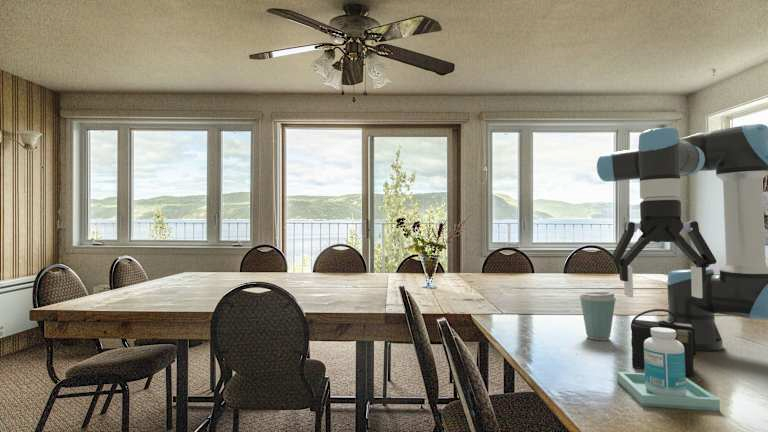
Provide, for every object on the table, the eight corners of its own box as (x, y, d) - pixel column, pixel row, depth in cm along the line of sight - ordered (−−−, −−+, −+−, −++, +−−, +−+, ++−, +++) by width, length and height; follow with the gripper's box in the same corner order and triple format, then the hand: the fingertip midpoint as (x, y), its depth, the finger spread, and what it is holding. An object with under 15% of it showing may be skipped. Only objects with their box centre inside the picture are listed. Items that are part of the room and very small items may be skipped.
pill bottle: (681, 388, 93) (680, 327, 94) (689, 401, 87) (688, 335, 87) (642, 383, 96) (641, 324, 97) (647, 395, 90) (646, 331, 90)
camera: (698, 379, 100) (696, 316, 101) (630, 369, 108) (629, 310, 108) (693, 366, 110) (692, 309, 110) (632, 358, 117) (631, 304, 117)
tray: (682, 384, 97) (682, 375, 97) (719, 411, 83) (719, 399, 83) (617, 381, 100) (617, 371, 100) (642, 406, 86) (642, 395, 86)
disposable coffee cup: (581, 340, 135) (580, 293, 135) (579, 332, 145) (578, 289, 145) (618, 344, 131) (618, 295, 131) (614, 335, 141) (613, 290, 141)
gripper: (713, 199, 94) (715, 294, 94) (593, 201, 98) (595, 292, 98) (735, 197, 87) (738, 300, 86) (604, 200, 91) (607, 298, 91)
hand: (662, 296), depth 92 cm, fingers open, 13 cm apart
